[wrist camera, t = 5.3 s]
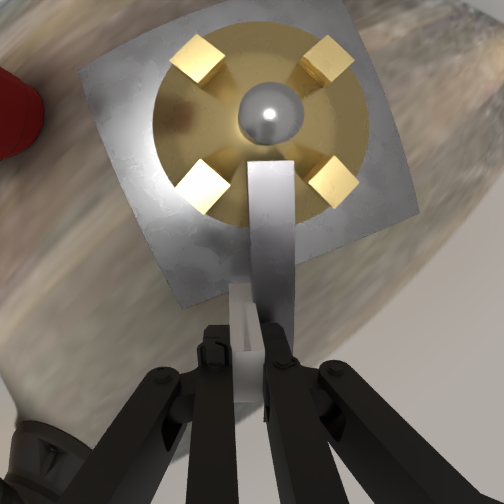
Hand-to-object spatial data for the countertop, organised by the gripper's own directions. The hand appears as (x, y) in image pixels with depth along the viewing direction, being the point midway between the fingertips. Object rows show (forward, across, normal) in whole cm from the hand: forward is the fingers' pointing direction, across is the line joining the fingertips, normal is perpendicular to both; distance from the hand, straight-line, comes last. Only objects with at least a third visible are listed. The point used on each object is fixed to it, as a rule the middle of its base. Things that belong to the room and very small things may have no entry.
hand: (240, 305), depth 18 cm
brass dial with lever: (+2, +1, +7) cm, 7 cm away
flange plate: (+7, +1, +10) cm, 12 cm away
